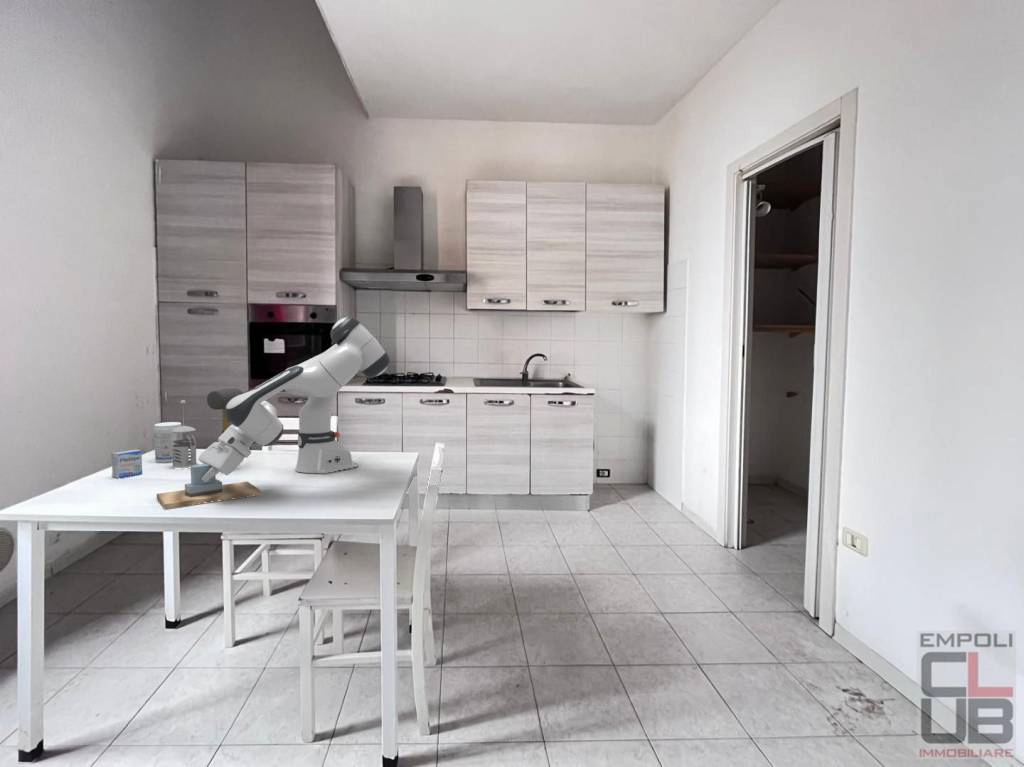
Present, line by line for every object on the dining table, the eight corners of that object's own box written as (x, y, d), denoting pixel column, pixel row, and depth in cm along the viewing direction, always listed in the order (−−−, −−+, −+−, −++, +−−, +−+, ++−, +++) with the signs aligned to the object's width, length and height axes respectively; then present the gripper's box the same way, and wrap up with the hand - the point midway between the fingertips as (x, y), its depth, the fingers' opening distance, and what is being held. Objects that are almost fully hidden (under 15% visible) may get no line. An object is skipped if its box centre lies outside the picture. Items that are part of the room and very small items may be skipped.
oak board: (247, 485, 197) (247, 481, 196) (260, 494, 186) (260, 490, 186) (156, 498, 180) (156, 493, 180) (165, 509, 169) (165, 504, 169)
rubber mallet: (225, 474, 213) (223, 390, 210) (206, 472, 214) (204, 389, 212) (247, 466, 225) (245, 387, 223) (229, 465, 226) (227, 386, 224)
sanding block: (216, 488, 186) (215, 461, 186) (222, 491, 183) (221, 464, 182) (185, 493, 180) (184, 466, 180) (190, 497, 177) (189, 468, 176)
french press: (191, 462, 231) (189, 398, 229) (207, 466, 224) (205, 400, 222) (164, 466, 223) (162, 400, 221) (180, 471, 216) (177, 402, 214)
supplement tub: (175, 457, 240) (173, 421, 239) (188, 460, 235) (187, 423, 234) (150, 461, 232) (148, 424, 230) (163, 464, 227) (162, 426, 225)
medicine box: (118, 479, 204) (117, 453, 203) (112, 477, 206) (111, 452, 206) (142, 474, 211) (141, 450, 210) (136, 472, 213) (135, 448, 212)
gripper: (213, 433, 192) (181, 467, 186) (237, 441, 178) (203, 479, 172) (228, 445, 196) (197, 479, 190) (253, 454, 181) (220, 491, 175)
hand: (200, 479), depth 181 cm, fingers closed on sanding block, 3 cm apart
